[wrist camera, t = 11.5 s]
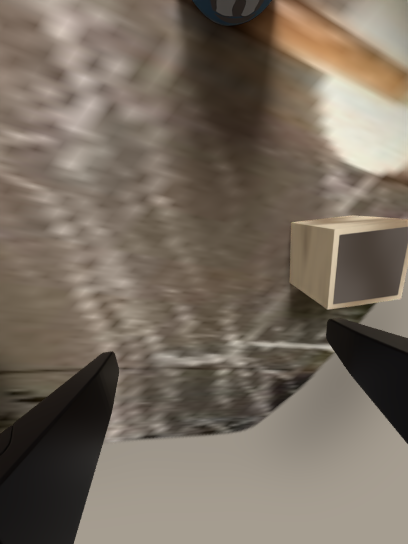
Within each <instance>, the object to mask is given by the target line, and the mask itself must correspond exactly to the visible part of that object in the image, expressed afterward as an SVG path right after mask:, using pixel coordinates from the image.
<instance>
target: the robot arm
mask: <svg viewBox="0 0 408 544" xmlns="http://www.w3.org/2000/svg"><path fill="white" fill-rule="evenodd" d="M326 338H327V341H328V342H329V344H330V345H331V347H332V348H333V350H334V351H335V353H336V354H337V355H338V357H339V359H340V360H341V361H342V363H343V365H344V366H345V367H346V369H347V370H348V372H349V373H350V374H351V376H352V377H353V378H354V379H355V380H356V382H357V383H358V384H359V385H360V387H361V388H362V389H363V390H364V391H365V393H366V394H367V395H368V396H369V398H370V399H371V400H372V401H373V402H374V403H375V405H376V406H377V407H378V408H379V410H380V411H381V412H382V413H383V415H385V417H386V418H387V419H388V421H389V422H390V423H391V424H392V426H393V427H394V428H395V429H396V430H397V432H398V433H399V434H400V435H401V436H402V438H403V439H404V440H405V441H406V443H407V444H408V338H405V337H402V336H398V335H395V334H392V333H388V332H385V331H382V330H378V329H374V328H371V327H368V326H365V325H361V324H358V323H355V322H351V321H348V320H345V319H341V318H333V319H329V320H328V322H327V331H326ZM118 376H119V367H118V364H117V360H116V356H115V353H114V352H105V353H102V354H101V355H99V356H98V357H97V358H96V359H94V360H93V361H92V362H90V363H89V364H88V365H87V366H85V367H84V368H83V369H82V370H80V371H79V372H78V373H77V374H75V375H74V376H73V377H72V378H70V379H69V380H68V381H67V382H65V383H64V384H63V385H61V386H60V387H59V388H58V389H56V390H55V391H54V392H53V393H51V394H50V395H49V396H48V397H46V398H45V399H44V400H43V401H41V402H40V403H39V404H37V405H36V406H35V407H34V408H32V409H31V410H30V411H29V412H27V413H26V414H25V415H24V416H22V417H21V418H20V419H19V420H17V421H16V422H15V423H14V424H13V425H11V426H10V427H8V428H7V429H6V430H5V431H3V432H2V433H1V434H0V544H74V540H75V537H76V533H77V530H78V526H79V523H80V520H81V516H82V513H83V510H84V506H85V502H86V499H87V496H88V492H89V489H90V486H91V482H92V479H93V475H94V472H95V469H96V465H97V462H98V458H99V455H100V452H101V448H102V445H103V441H104V438H105V434H106V431H107V428H108V424H109V421H110V417H111V413H112V409H113V404H114V398H115V393H116V387H117V382H118Z"/></svg>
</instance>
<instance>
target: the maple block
mask: <svg viewBox="0 0 408 544" xmlns="http://www.w3.org/2000/svg"><path fill="white" fill-rule="evenodd" d="M407 267H408V219H397V218H382V217H367V216H343V217H335V218H326V219H317V220H308V221H299V222H291V249H290V283H291V284H292V285H294V286H295V287H297V288H298V289H299V290H301V291H302V292H304V293H305V294H306V295H308V296H309V297H311V298H312V299H313V300H315V301H316V302H318V303H319V304H320V305H322V306H323V307H325V308H326V309H327V310H328V309H335V308H342V307H349V306H356V305H363V304H370V303H376V302H383V301H390V300H397V299H401V296H402V291H403V286H404V281H405V276H406V271H407Z"/></svg>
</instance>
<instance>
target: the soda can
mask: <svg viewBox="0 0 408 544" xmlns="http://www.w3.org/2000/svg"><path fill="white" fill-rule="evenodd" d="M192 1H193V2H194V3H195V5H196V6H197V7H198V8H199V10H200V11H201V12H202V13H203V14H204V15H205V16H206V17H207V18H209V19H210V20H212V21H213V22H215V23H218V24H221V25H226V26H231V25H238V24H242V23H245V22H248V21H250V20H252V19H253V18H255V17H256V16H258V15H259V14H260V13H261V12H262V11H263V10H264V9H265V8H266V7H267V6H268V5H269V4H270V2H271V1H272V0H192Z"/></svg>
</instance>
